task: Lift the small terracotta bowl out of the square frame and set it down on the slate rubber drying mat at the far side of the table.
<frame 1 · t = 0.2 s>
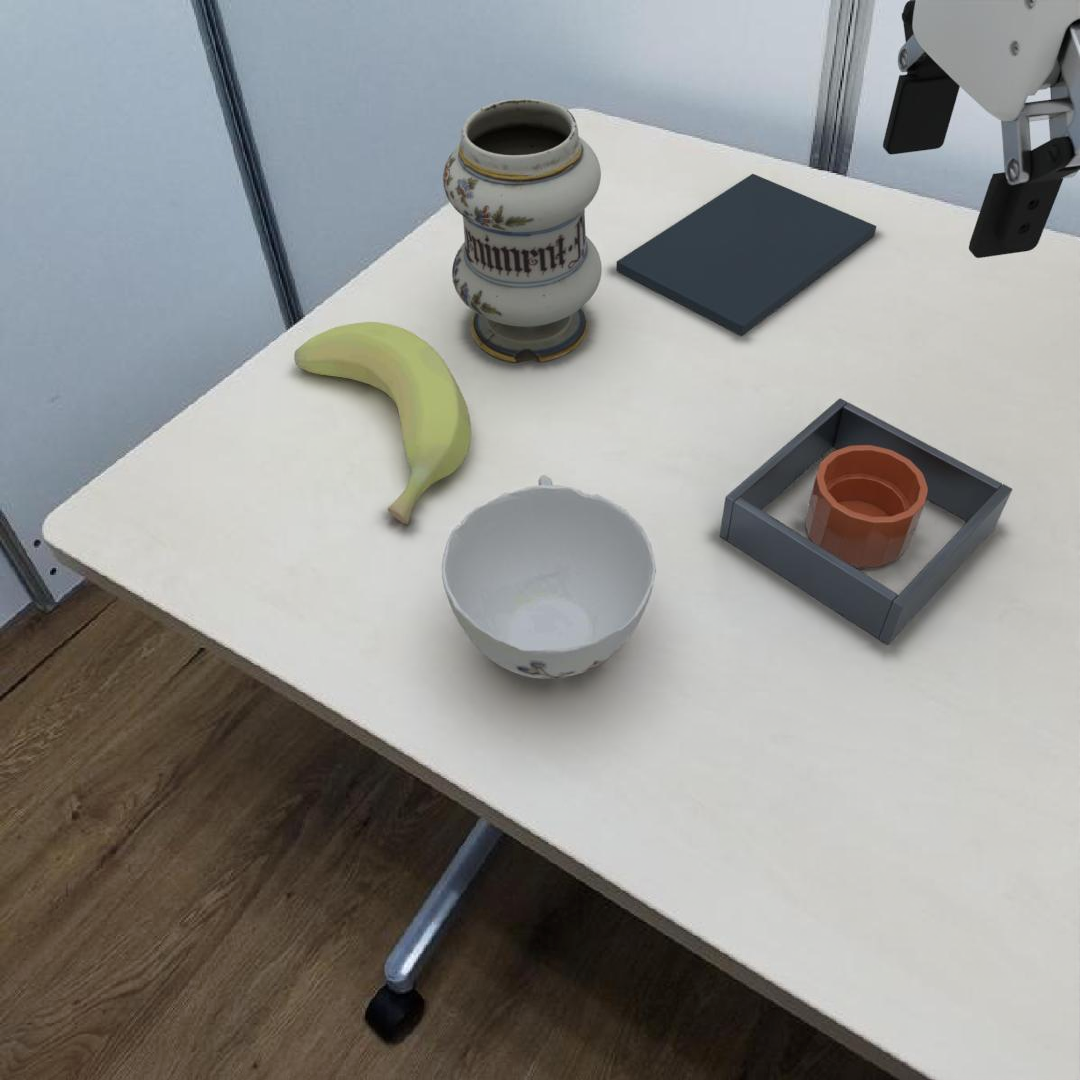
hand: (953, 197, 51), 26 cm above the table, tool pointing down, fingers open, 9 cm apart
teacup: (551, 624, 66), on the table
banana: (383, 436, 78), on the table
apothecary jar: (529, 328, 86), on the table
mat: (746, 252, 92), on the table
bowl: (863, 508, 68), in the square frame
square frame: (856, 532, 70), on the table
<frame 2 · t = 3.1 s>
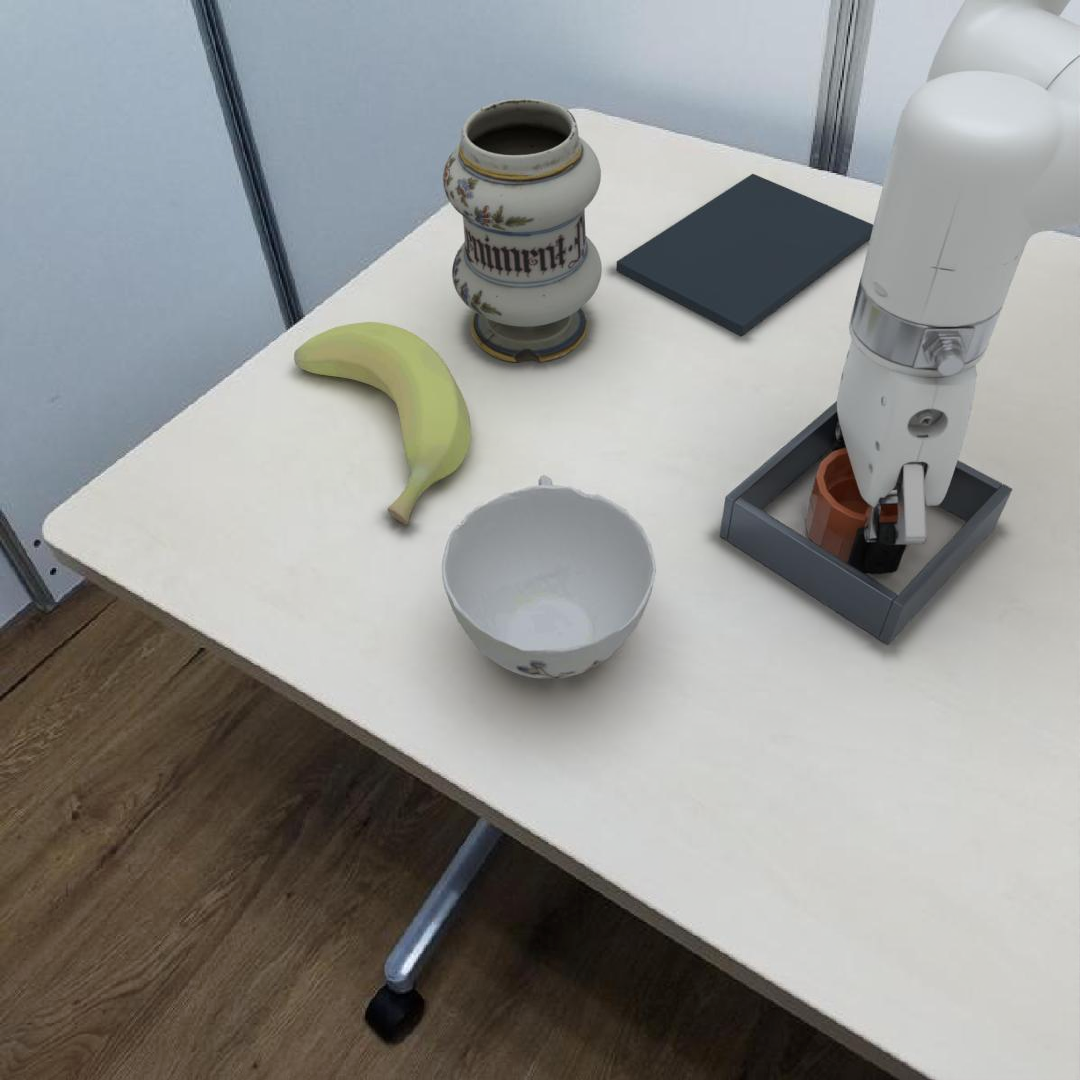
hand: (858, 524, 69), 1 cm above the table, tool pointing down, fingers closed on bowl, 7 cm apart
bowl: (863, 508, 68), in the square frame, touching gripper
everything else where it was.
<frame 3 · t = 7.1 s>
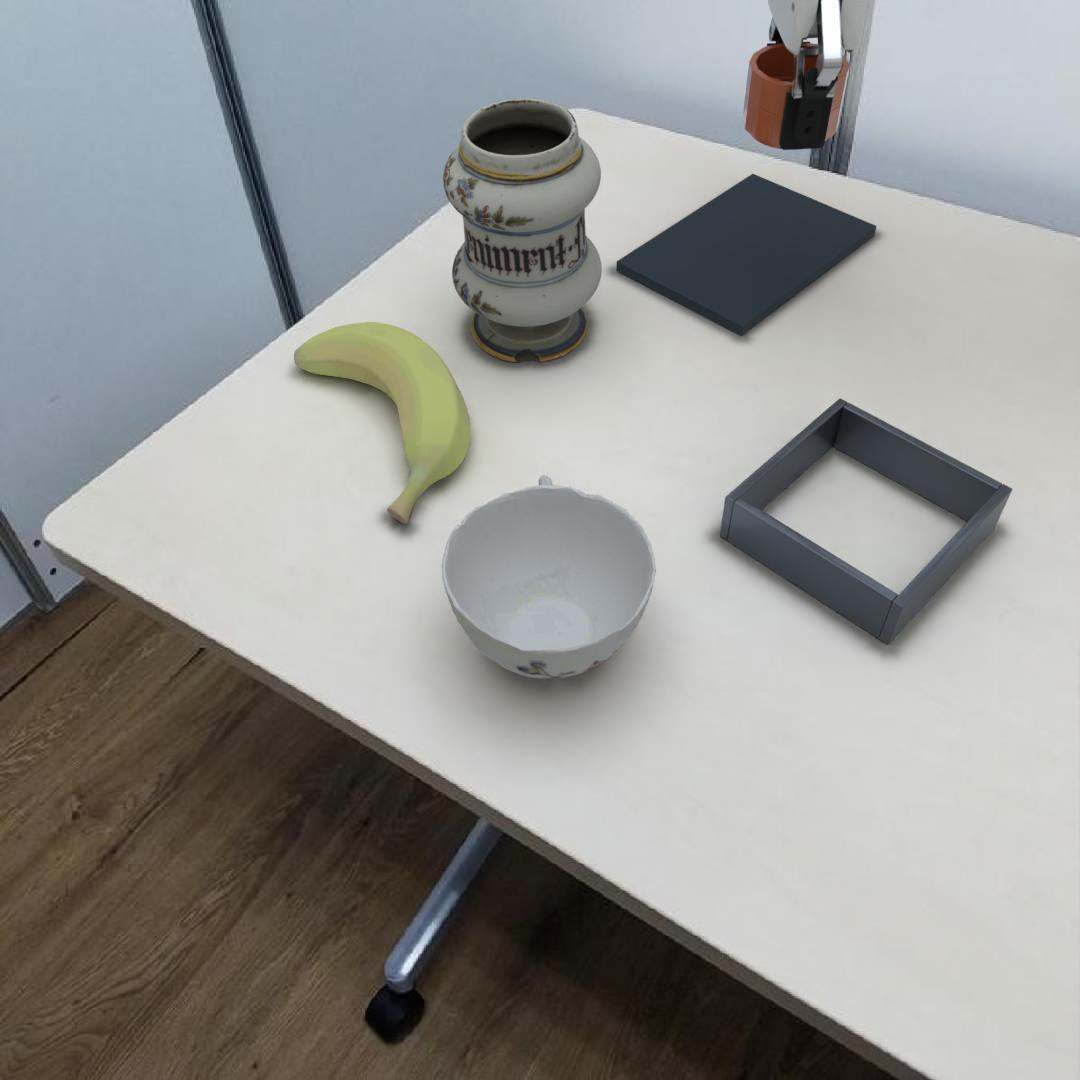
hand: (790, 119, 76), 16 cm above the table, tool pointing down, fingers closed on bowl, 7 cm apart
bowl: (793, 97, 75), point 18 cm above the table, touching gripper
everything else where it was.
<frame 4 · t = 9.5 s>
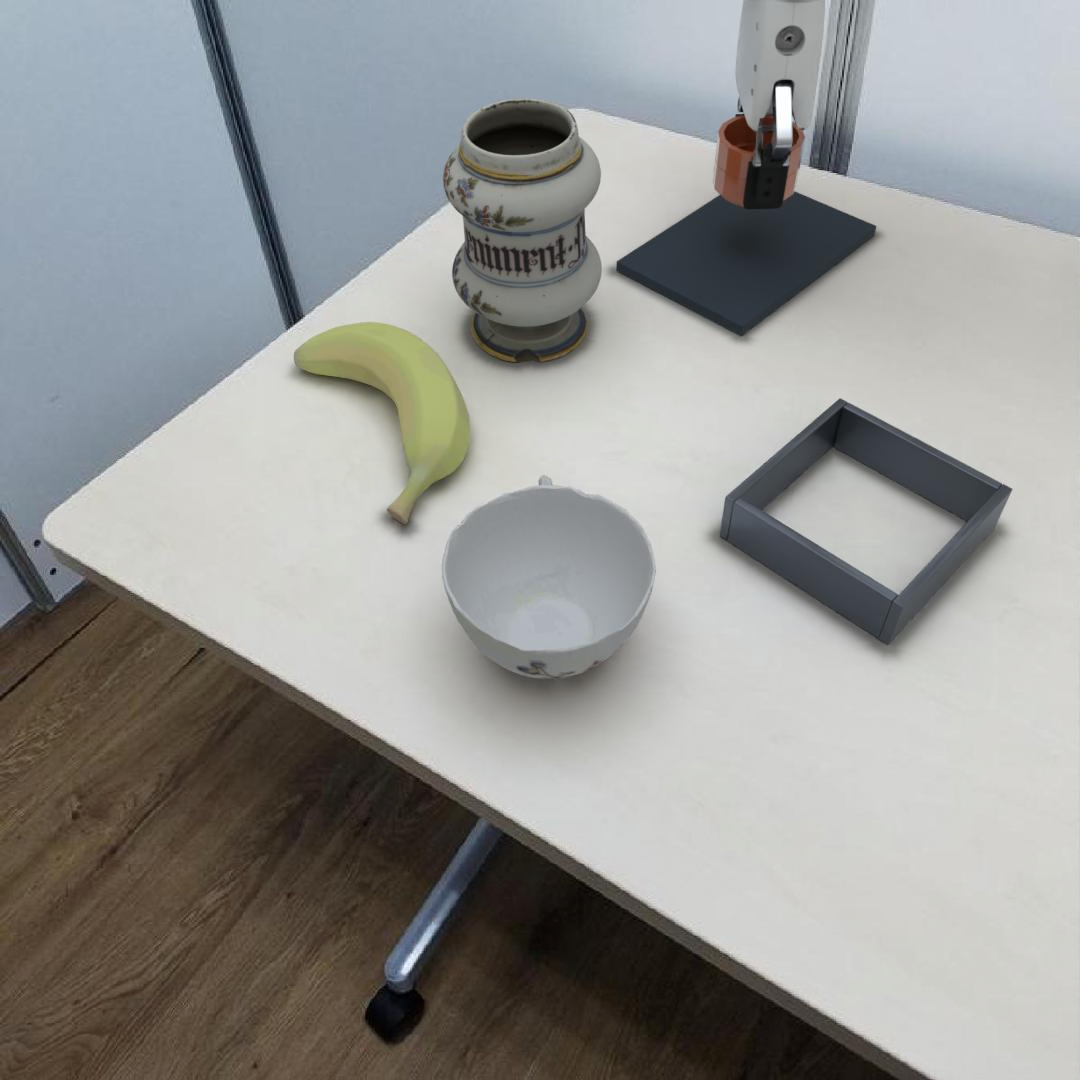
hand: (755, 180, 87), 7 cm above the table, tool pointing down, fingers closed on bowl, 7 cm apart
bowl: (757, 162, 86), point 9 cm above the table, touching gripper
everything else where it was.
when the fingers open (2 cm above the table, at t = 11.4 s): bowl stays where it is, resting on mat.
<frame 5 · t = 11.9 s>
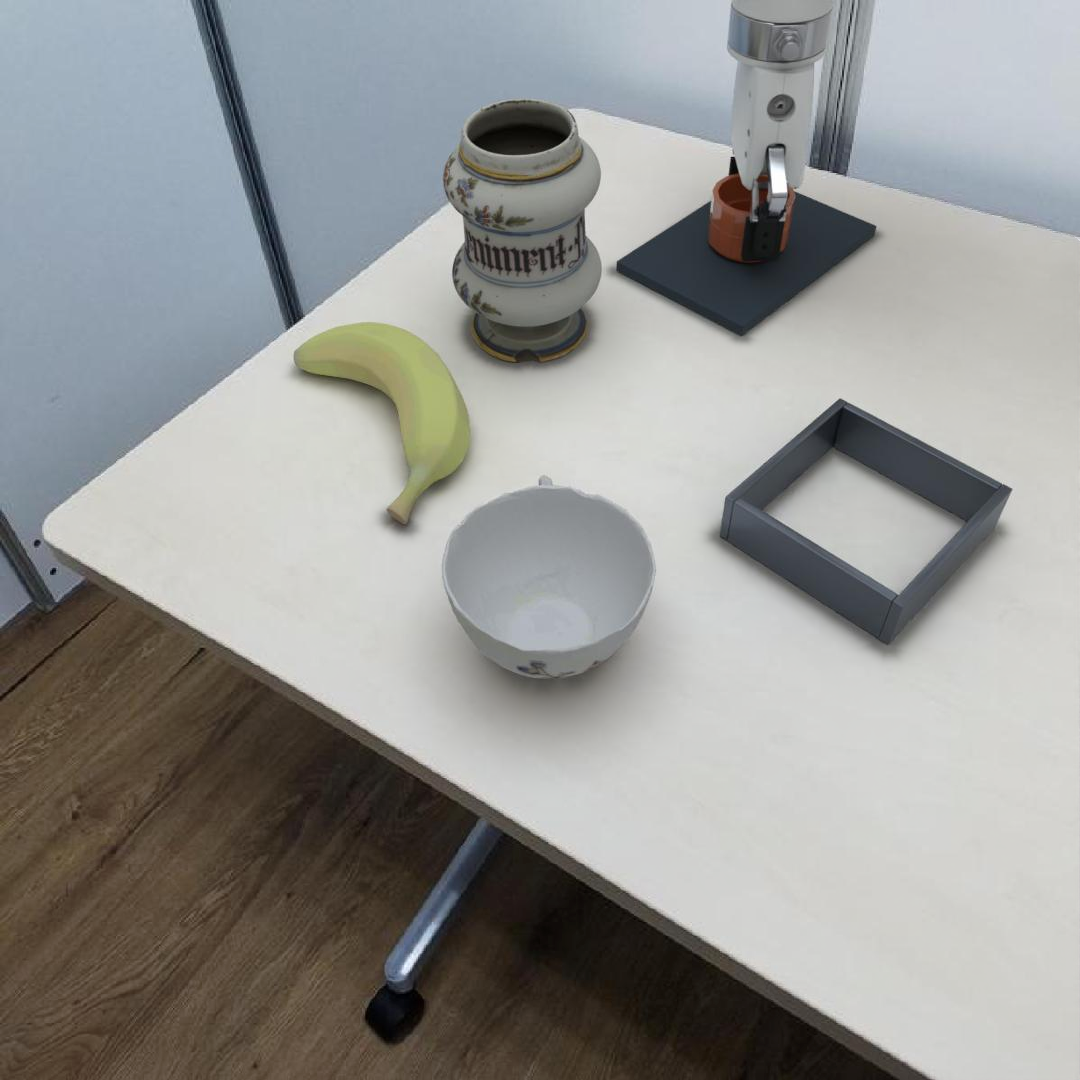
hand: (751, 227, 90), 3 cm above the table, tool pointing down, fingers open, 9 cm apart
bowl: (750, 218, 90), on the mat, point 4 cm above the table
everything else where it was.
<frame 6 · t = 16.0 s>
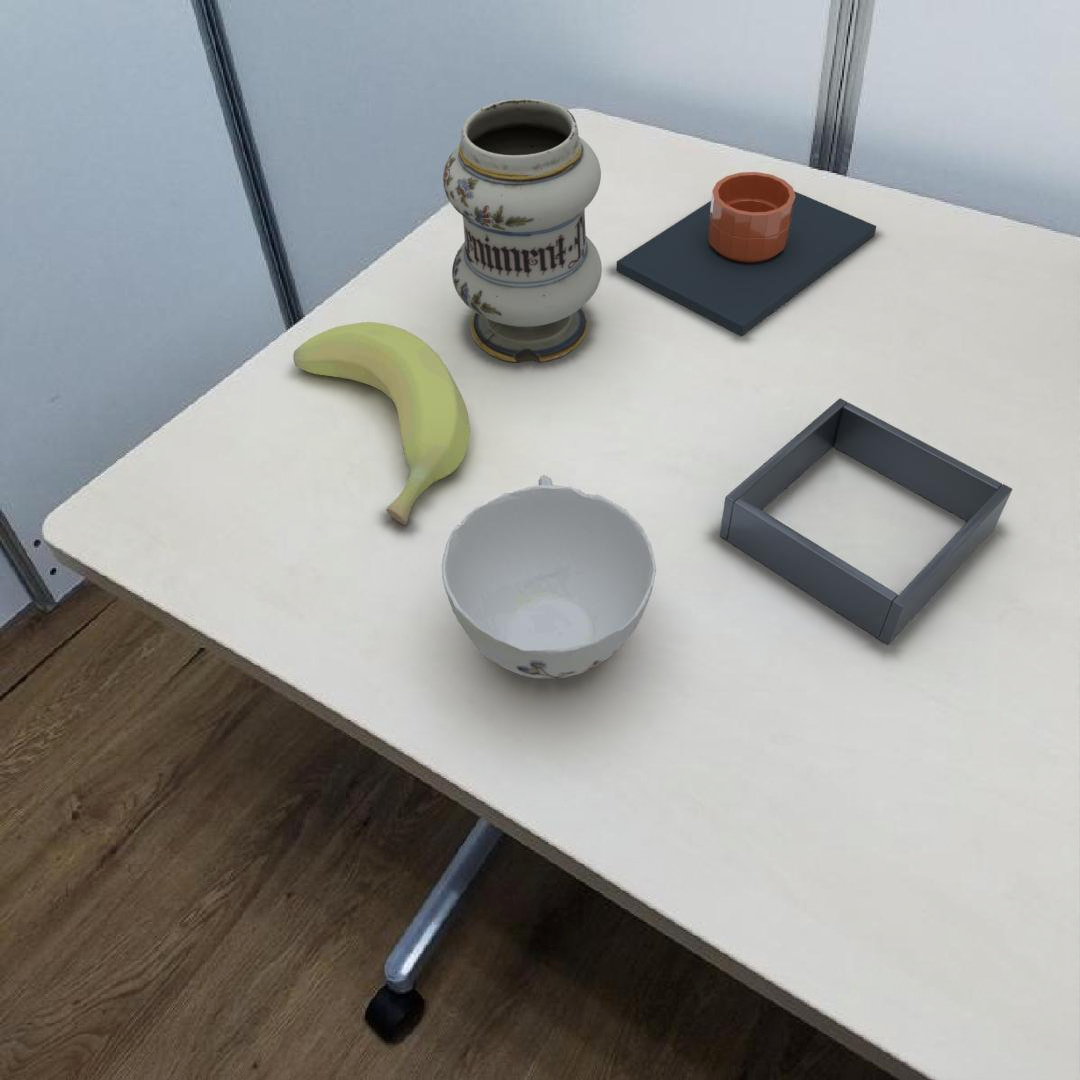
nothing on the table moved.
at the end: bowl inside the target area on the mat (0.1 cm from its centre), point 3.5 cm above the mat's base; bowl tilted 0°; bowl touching mat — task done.
